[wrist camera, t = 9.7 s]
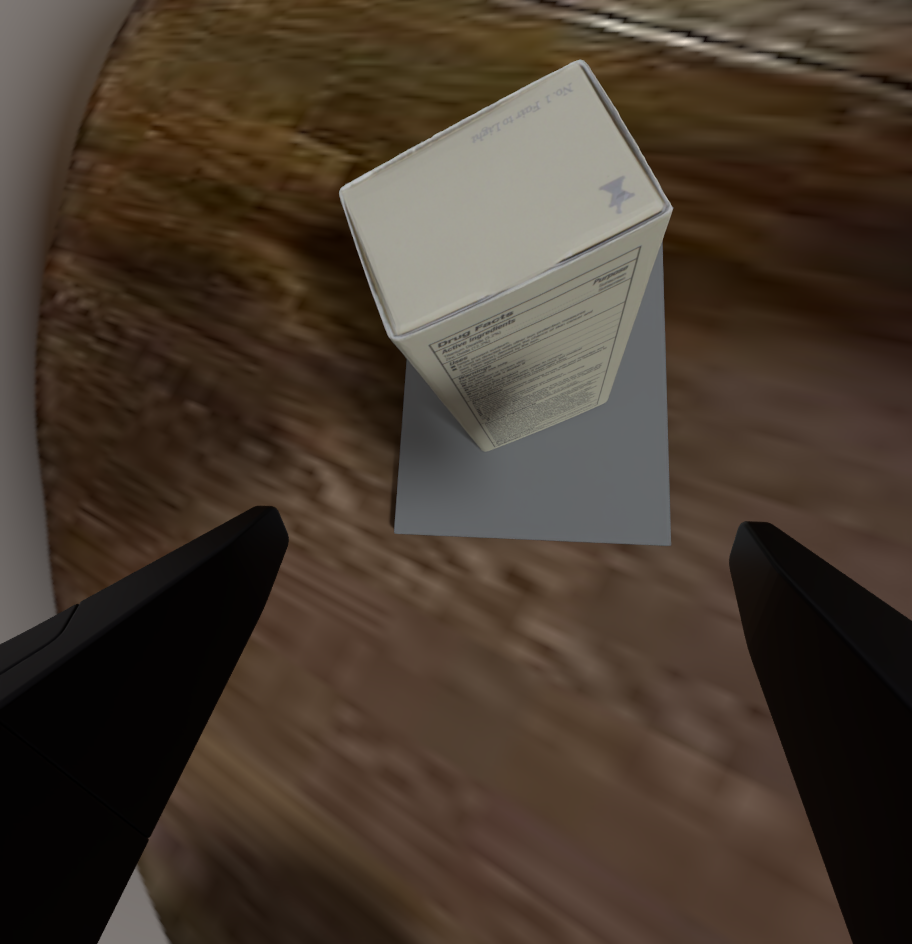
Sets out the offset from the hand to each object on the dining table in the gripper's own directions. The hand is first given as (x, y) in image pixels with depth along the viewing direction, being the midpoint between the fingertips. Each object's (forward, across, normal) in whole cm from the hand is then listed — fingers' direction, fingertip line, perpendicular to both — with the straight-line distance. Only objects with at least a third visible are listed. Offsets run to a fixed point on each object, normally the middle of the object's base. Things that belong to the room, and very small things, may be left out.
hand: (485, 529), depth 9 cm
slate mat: (+14, 0, +3) cm, 14 cm away
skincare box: (+13, 0, +3) cm, 14 cm away
